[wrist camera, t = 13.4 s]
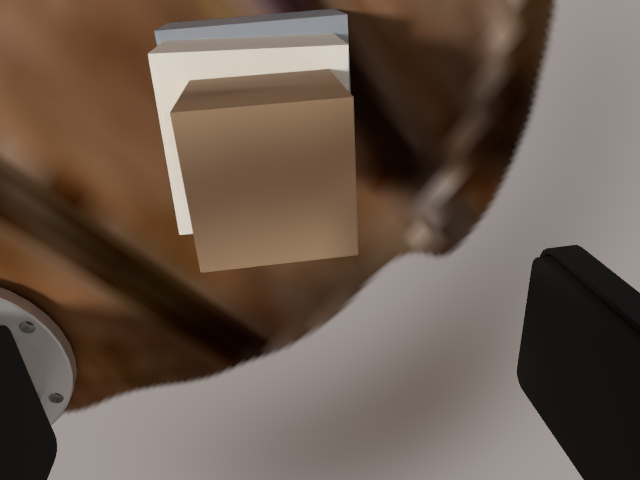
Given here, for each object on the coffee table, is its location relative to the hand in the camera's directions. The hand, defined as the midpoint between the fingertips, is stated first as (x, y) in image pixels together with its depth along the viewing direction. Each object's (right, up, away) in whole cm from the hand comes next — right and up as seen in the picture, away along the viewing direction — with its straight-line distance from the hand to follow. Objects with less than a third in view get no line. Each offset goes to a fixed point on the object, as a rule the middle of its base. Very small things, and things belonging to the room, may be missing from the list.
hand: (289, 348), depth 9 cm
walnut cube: (-1, +6, +10) cm, 12 cm away
